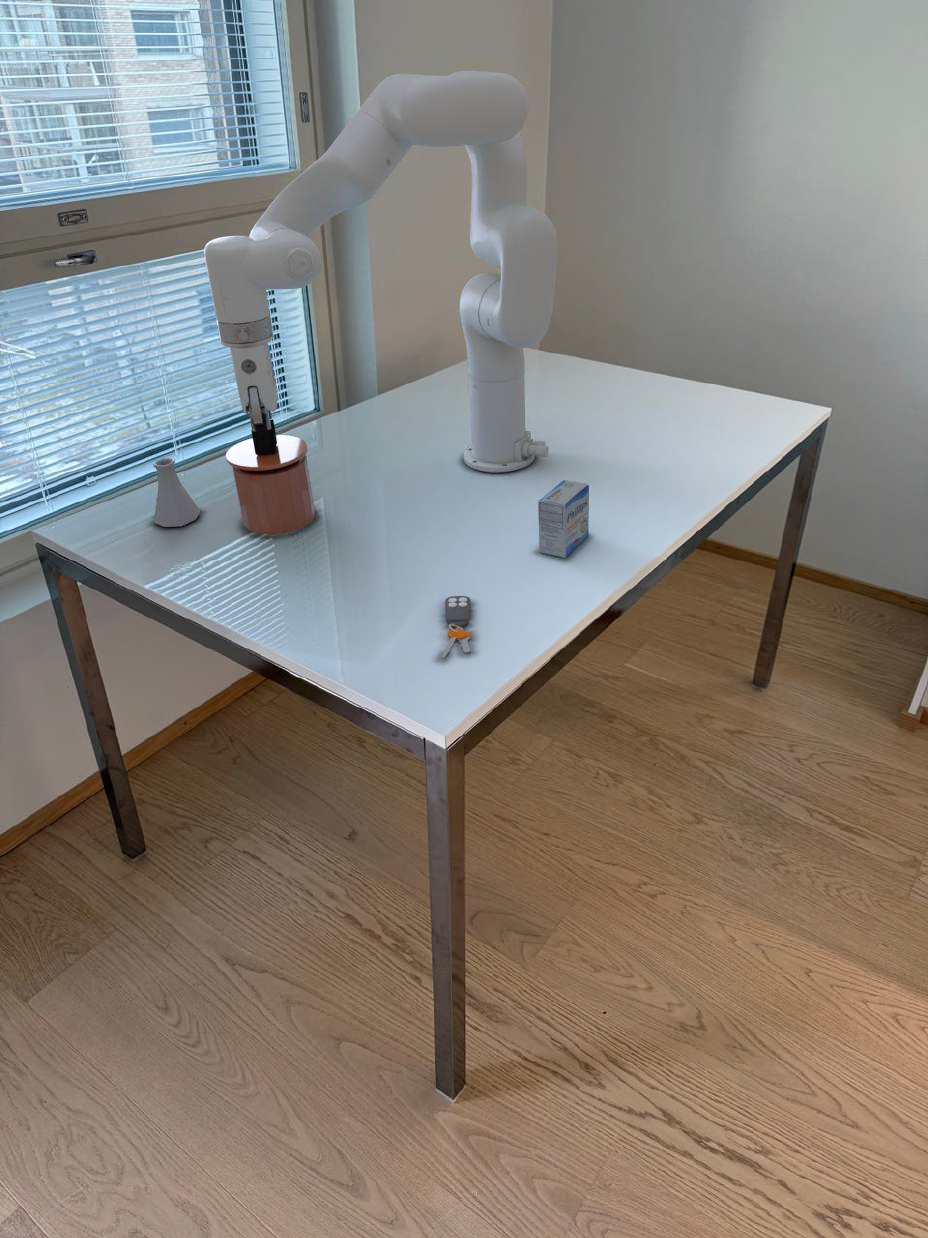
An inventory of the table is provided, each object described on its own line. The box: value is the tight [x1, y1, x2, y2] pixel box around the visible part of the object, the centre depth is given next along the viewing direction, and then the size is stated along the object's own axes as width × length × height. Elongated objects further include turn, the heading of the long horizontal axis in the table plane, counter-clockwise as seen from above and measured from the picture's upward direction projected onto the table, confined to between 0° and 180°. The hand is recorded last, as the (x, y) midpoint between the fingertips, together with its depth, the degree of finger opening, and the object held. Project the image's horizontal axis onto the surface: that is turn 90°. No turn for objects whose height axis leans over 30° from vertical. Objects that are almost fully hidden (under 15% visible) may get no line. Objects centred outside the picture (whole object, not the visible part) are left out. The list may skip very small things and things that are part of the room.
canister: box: [231, 454, 316, 535], centre depth 149 cm, size 11×12×10 cm
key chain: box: [441, 595, 472, 659], centre depth 123 cm, size 13×4×2 cm, turn 0°
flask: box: [152, 457, 201, 528], centre depth 152 cm, size 7×7×10 cm
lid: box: [225, 422, 308, 471], centre depth 145 cm, size 12×12×6 cm
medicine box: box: [537, 479, 590, 559], centre depth 138 cm, size 8×4×9 cm, turn 148°
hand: (266, 448), depth 145 cm, fingers closed on lid, 2 cm apart
